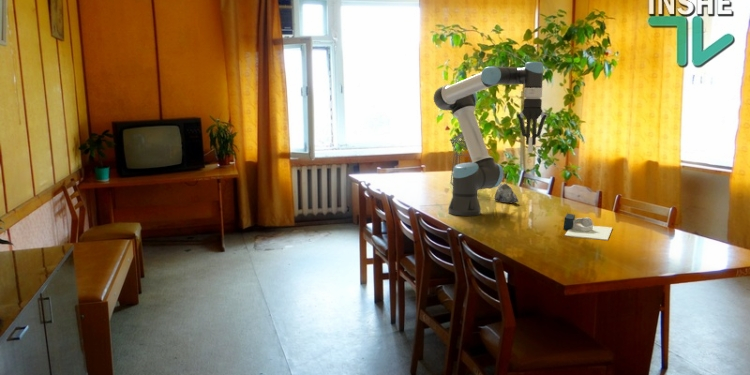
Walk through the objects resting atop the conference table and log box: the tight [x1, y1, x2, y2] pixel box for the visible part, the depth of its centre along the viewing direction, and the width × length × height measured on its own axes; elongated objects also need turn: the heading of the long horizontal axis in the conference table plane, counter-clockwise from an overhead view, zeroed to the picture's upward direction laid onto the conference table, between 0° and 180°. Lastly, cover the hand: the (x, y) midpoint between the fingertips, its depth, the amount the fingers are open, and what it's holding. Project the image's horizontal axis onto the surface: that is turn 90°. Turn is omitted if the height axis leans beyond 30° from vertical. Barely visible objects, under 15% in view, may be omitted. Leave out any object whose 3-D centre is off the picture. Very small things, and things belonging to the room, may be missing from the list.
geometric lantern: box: [449, 132, 471, 187], centre depth 328 cm, size 16×16×35 cm
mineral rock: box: [494, 183, 519, 204], centre depth 300 cm, size 13×11×10 cm
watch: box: [562, 213, 594, 232], centre depth 240 cm, size 6×8×11 cm
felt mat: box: [564, 223, 613, 241], centre depth 237 cm, size 16×22×1 cm
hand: (530, 152), depth 255 cm, fingers closed
